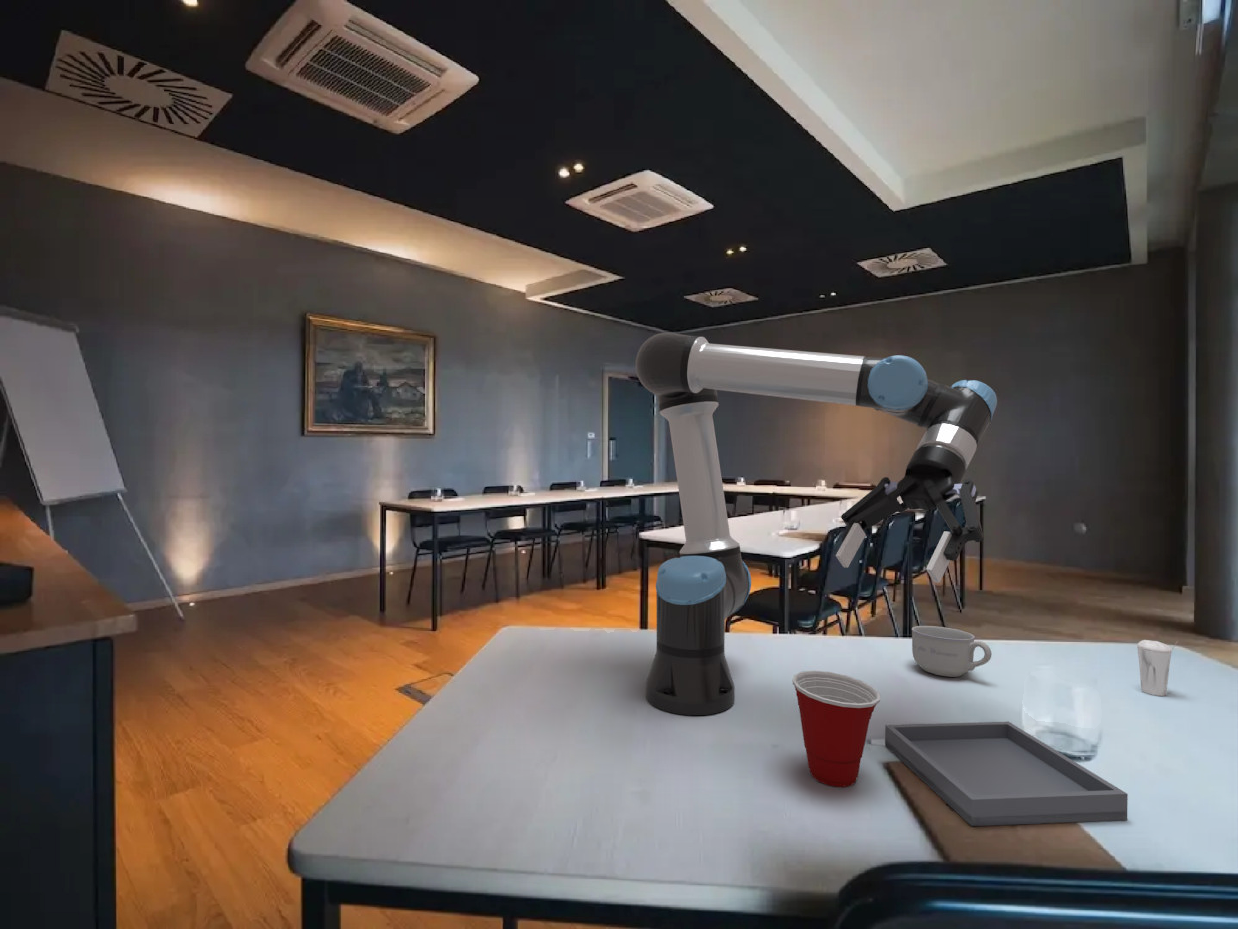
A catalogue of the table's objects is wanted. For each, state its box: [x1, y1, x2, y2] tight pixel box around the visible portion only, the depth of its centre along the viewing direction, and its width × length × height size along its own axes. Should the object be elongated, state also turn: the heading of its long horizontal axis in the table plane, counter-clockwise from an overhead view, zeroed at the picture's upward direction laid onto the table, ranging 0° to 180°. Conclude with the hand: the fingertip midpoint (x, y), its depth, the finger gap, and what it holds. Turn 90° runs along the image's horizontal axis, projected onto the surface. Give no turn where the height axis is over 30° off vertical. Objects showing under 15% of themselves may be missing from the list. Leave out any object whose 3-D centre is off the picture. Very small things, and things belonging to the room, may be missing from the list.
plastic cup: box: [791, 670, 881, 788], centre depth 76 cm, size 11×11×12 cm
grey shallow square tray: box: [884, 721, 1129, 827], centre depth 76 cm, size 19×19×3 cm
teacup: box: [911, 625, 992, 678], centre depth 113 cm, size 14×11×8 cm
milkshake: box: [1136, 639, 1179, 697], centre depth 104 cm, size 4×5×10 cm
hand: (883, 568), depth 82 cm, fingers open, 13 cm apart
